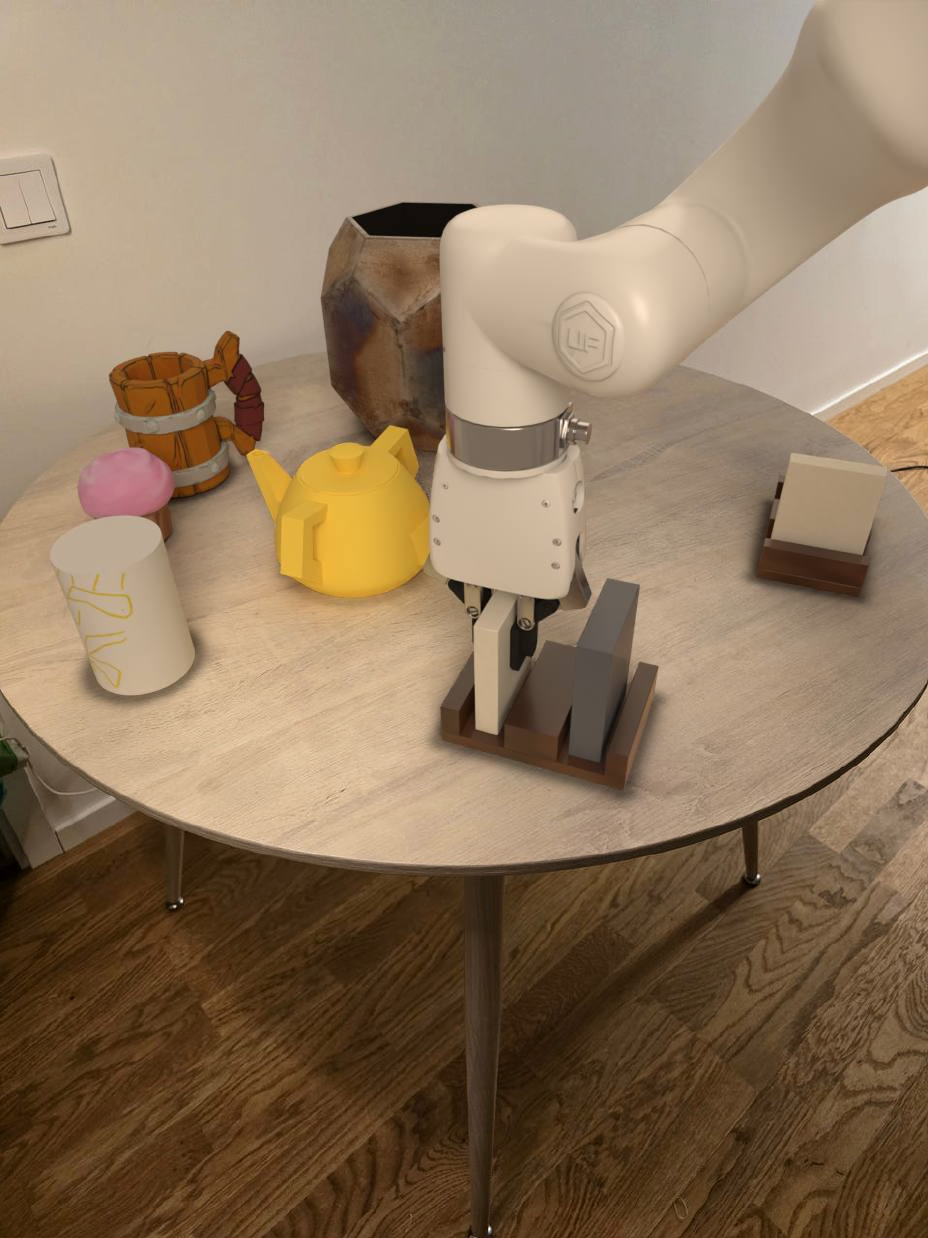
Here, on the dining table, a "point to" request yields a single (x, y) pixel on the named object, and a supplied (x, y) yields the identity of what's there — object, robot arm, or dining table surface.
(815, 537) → the white book
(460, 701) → the rack
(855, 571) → the rack
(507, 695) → the white book
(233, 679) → the dining table surface
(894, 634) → the dining table surface
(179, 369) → the mug
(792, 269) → the robot arm
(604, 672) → the grey book
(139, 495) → the cupcake
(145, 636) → the cup
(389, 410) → the planter
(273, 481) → the teapot
